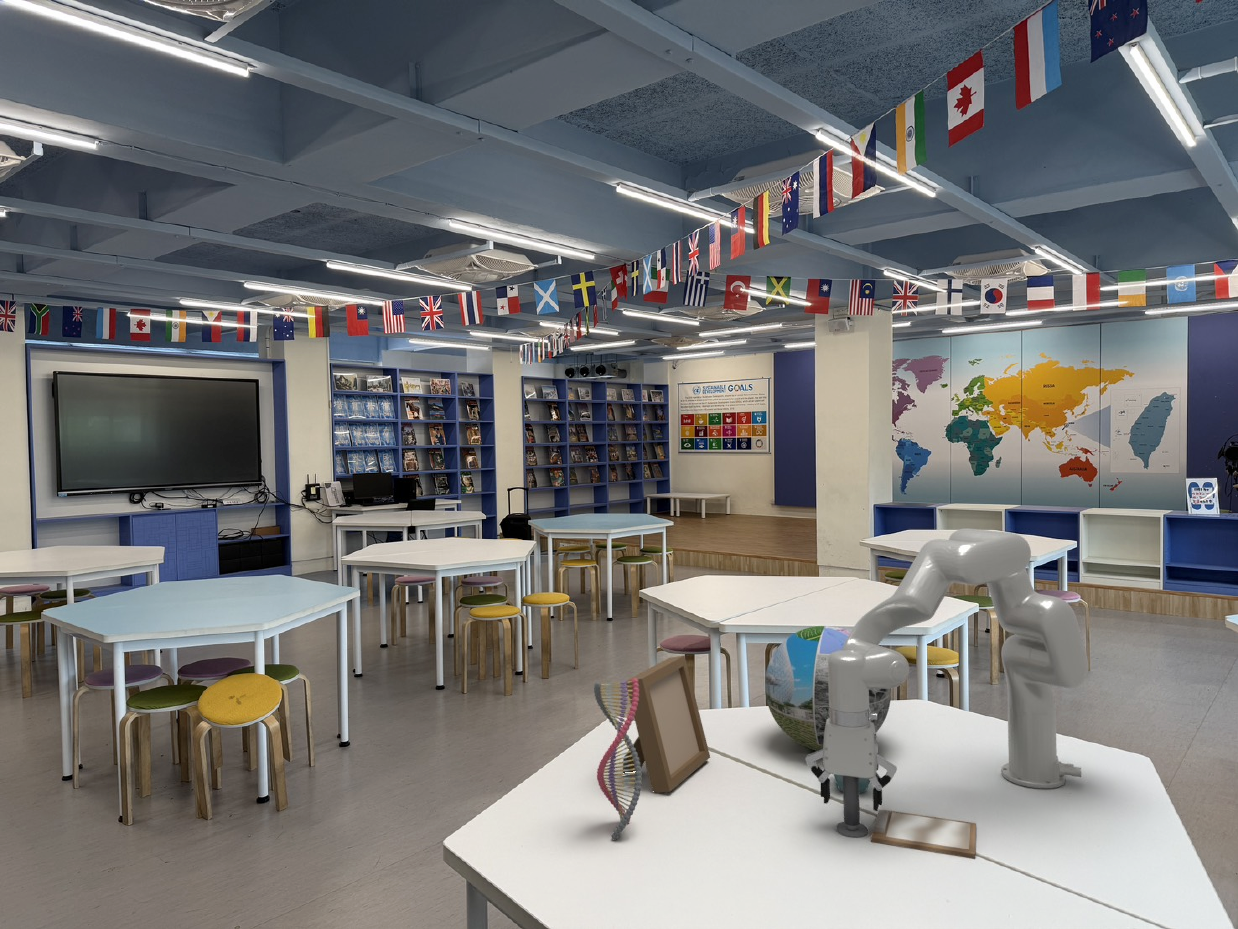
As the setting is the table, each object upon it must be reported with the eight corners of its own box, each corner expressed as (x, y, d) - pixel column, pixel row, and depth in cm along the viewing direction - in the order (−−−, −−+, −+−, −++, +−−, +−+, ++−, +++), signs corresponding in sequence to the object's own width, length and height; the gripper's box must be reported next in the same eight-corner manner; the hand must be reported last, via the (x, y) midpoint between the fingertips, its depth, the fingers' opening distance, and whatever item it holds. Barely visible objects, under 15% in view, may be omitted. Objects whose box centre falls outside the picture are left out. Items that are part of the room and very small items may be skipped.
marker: (861, 826, 162) (860, 762, 161) (859, 833, 159) (857, 768, 158) (844, 823, 163) (843, 760, 163) (842, 830, 160) (840, 766, 160)
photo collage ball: (796, 720, 225) (793, 610, 224) (908, 741, 207) (905, 621, 207) (745, 756, 201) (742, 633, 200) (867, 782, 183) (864, 647, 183)
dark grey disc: (870, 826, 162) (870, 824, 162) (865, 839, 157) (865, 837, 157) (838, 821, 165) (838, 819, 165) (833, 834, 159) (833, 832, 159)
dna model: (649, 823, 166) (644, 675, 166) (635, 844, 158) (630, 688, 157) (607, 818, 169) (602, 672, 169) (591, 838, 161) (586, 685, 160)
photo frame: (710, 761, 198) (706, 657, 198) (670, 796, 179) (665, 681, 179) (655, 752, 205) (650, 652, 205) (611, 785, 186) (606, 674, 186)
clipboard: (976, 827, 161) (976, 818, 160) (975, 858, 149) (974, 848, 149) (879, 813, 168) (879, 804, 168) (871, 841, 156) (870, 832, 156)
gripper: (898, 715, 160) (900, 803, 161) (808, 706, 167) (810, 790, 168) (894, 727, 153) (896, 819, 154) (800, 717, 161) (802, 805, 161)
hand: (851, 804), depth 161 cm, fingers open, 9 cm apart
